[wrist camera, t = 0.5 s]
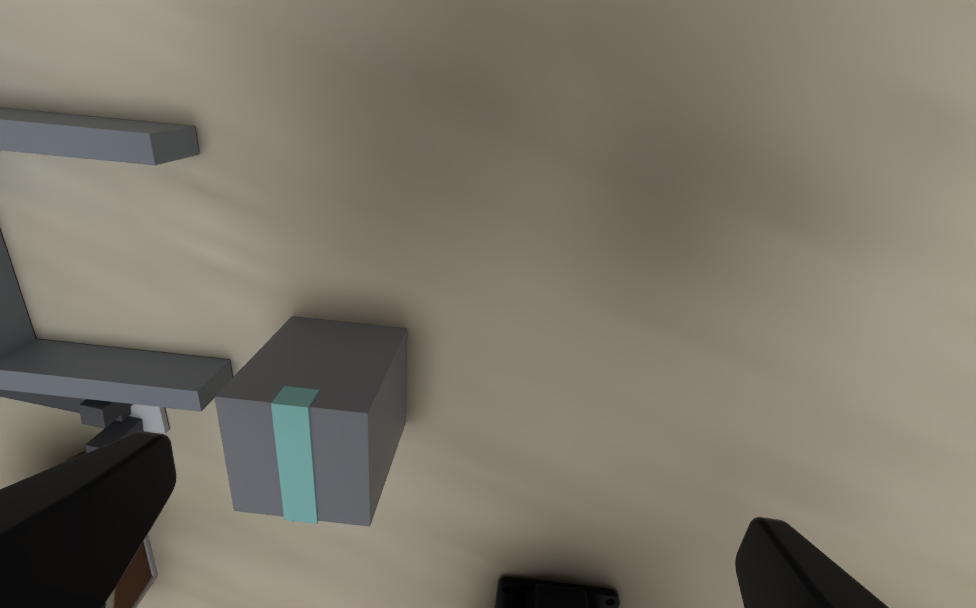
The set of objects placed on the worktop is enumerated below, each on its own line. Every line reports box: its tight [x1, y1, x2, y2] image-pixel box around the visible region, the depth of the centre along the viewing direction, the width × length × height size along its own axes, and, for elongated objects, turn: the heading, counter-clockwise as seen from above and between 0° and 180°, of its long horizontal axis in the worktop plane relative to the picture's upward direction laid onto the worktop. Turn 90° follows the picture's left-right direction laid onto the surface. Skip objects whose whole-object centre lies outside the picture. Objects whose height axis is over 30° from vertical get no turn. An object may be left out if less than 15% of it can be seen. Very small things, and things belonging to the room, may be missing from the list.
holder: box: [0, 108, 233, 411], centre depth 20 cm, size 11×10×2 cm
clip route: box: [0, 389, 169, 453], centre depth 22 cm, size 11×11×2 cm
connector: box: [215, 317, 407, 526], centre depth 20 cm, size 5×5×6 cm
